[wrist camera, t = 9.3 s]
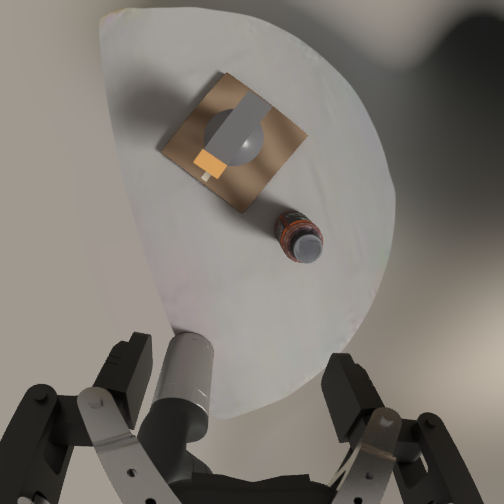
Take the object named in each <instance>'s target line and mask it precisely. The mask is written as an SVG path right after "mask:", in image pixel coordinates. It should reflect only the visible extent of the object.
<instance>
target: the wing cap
mask: <svg viewBox="0 0 504 504" xmlns="http://www.w3.org/2000/svg"><path fill="white" fill-rule="evenodd" d="M271 108H272V106H271V105H270V104H269V103H267V102H266V101H264V100H263V99H261V98H260V97H259V96H257V95H256V94H254V93H253V92H251V91H250V90H249V91H248V92H247V93H246V95H245V96H244V97H243V98H242V100H241V101H240V102H239V103H238V105H237V106H236V107H235V108H234V109H228V110H224V111H221V112H219V113H218V114H216V115H215V116H214V117H213V118H212V119H211V120H210V121H209V122H208V124H207V126H206V128H205V132H204V144H205V148H204V149H202V150H201V152H200V153H199V155H198V156H197V157H196V159H195V160H194V162H193V163H195V164H196V165H198V166H199V167H201V168H202V169H203V170H205V171H206V172H208V173H209V174H211V175H212V176H214V177H215V178H217V179H218V178H219V177H220V175H221V174H222V172H223V171H224V170H225V168H226V167H227V166H240V165H244V164H246V163H248V162H250V161H251V160H253V159H254V158H255V157H256V156H257V155H258V153H259V152H260V150H261V148H262V145H263V141H264V134H263V129H262V126H261V124H260V122H261V121H262V119H263V118H264V117H265V116H266V114H267V113H268V112H269V110H270V109H271Z"/></svg>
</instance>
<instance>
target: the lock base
mask: <svg viewBox="0 0 504 504" xmlns="http://www.w3.org/2000/svg"><path fill="white" fill-rule="evenodd" d="M249 90H250V91H251V92H253V93H254V94H256V93H255V92H254V91H252V90H251V89H250V88H248V87H247V86H246V85H244V84H243V83H241V82H240V81H239V80H237V79H236V78H234V77H233V76H232V75H230V74H229V73H226V74H225V75H224V76H223V77H222V78H221V79H220V80H219V81H218V83H217V84H216V85H215V86H214V87H213V88H212V89H211V90H210V92H209V93H208V94H207V95H206V96H205V97H204V99H203V100H202V101H201V102H200V103H199V104H198V106H197V107H196V108H195V109H194V111H193V112H192V113H191V114H190V115H189V117H188V118H187V119H186V120H185V122H184V123H183V124H182V126H181V127H180V128H179V129H178V131H177V132H176V133H175V135H174V136H173V137H172V139H171V140H170V141H169V143H168V144H167V145H166V147H165V148H164V149H163V151H162V153H163V154H164V155H166V156H167V157H168V158H170V159H171V160H172V161H174V162H175V163H176V164H178V165H179V166H180V167H182V168H183V169H184V170H186V171H187V172H188V173H190V174H191V175H192V176H194V177H195V178H196V179H198V180H199V181H200V182H202V183H203V184H204V185H206V186H207V187H208V188H210V189H211V190H212V191H214V192H215V193H216V194H218V195H219V196H220V197H221V198H223V199H224V200H225V201H227V202H228V203H229V204H231V205H232V206H233V207H235V208H236V209H237V210H238V211H240V212H241V213H242V214H243V213H244V211H245V210H246V209H247V208H248V206H249V205H250V204H251V203H252V202H253V200H254V199H255V198H256V197H257V195H258V194H259V193H260V192H261V191H262V189H263V188H264V187H265V186H266V185H267V183H268V182H269V181H270V180H271V179H272V177H273V176H274V175H275V174H276V173H277V171H278V170H279V169H280V168H281V167H282V166H283V164H284V163H285V162H286V161H287V160H288V158H289V157H290V156H291V155H292V154H293V153H294V151H295V150H296V149H297V148H298V147H299V146H300V144H301V143H302V142H303V141H304V140H305V139H306V137H307V136H308V135H307V134H306V133H305V132H304V131H302V130H301V129H300V128H299V127H298V126H297V125H295V124H294V123H293V122H292V121H291V120H289V119H288V118H287V117H286V116H285V115H283V114H282V113H281V112H280V111H278V110H277V109H276V108H275V107H273V106H272V105H271V104H270V105H271V106H272V108H271V109H270V110H269V112H268V113H267V114H266V116H265V117H264V118H263V119H262V121H261V122H260V124H261V126H262V129H263V134H264V141H263V145H262V148H261V150H260V152H259V153H258V155H257V156H256V157H255V158H254V159H253V160H251V161H250V162H248V163H246V164H244V165H240V166H227V167H226V168H225V170H224V171H223V172H222V174H221V175H220V177H219V178H218V179H217V178H215V177H214V176H212V175H211V174H209V173H208V172H206V171H205V170H203V169H202V168H201V167H199V166H198V165H196V164H195V163H193V162H194V160H195V159H196V157H197V156H198V155H199V153H200V152H201V150H202V149H204V148H205V144H204V132H205V128H206V126H207V124H208V122H209V121H210V120H211V119H212V118H213V117H214V116H215V115H216V114H218V113H219V112H221V111H224V110H228V109H234V108H235V107H236V106H237V105H238V103H239V102H240V101H241V100H242V98H243V97H244V96H245V95H246V93H247V92H248V91H249ZM256 95H257V96H259V95H258V94H256ZM259 97H260V96H259ZM260 98H261V99H263V98H262V97H260ZM263 100H264V99H263ZM264 101H266V100H264ZM266 102H267V101H266ZM267 103H268V102H267Z"/></svg>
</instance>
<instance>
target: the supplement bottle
mask: <svg viewBox="0 0 504 504" xmlns="http://www.w3.org/2000/svg"><path fill="white" fill-rule="evenodd" d="M275 235H276V238H277V239H278V241H279V243H280V245H281V247H282V249H283V251H284V253H285V254H286V255H287V257H288V258H290V259H291V260H293V261H295V262H299V263H312V262H314V261H316V260H317V259H318V258H319V257H320V255H321V253H322V249H323V236H322V233H321V231H320V230H319V228H318V227H317V226H316V225H315V224H314V223H313V222H311V221H310V220H309V219H308V218H307V217H306V216H305V215H303V214H302V213H300V212H297V211H288V212H285V213H284V214H282V215H281V216H280V217H279V218H278V219H277V221H276V223H275Z"/></svg>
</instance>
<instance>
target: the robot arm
mask: <svg viewBox="0 0 504 504" xmlns="http://www.w3.org/2000/svg"><path fill="white" fill-rule="evenodd" d="M213 357H214V350H213V347H212V345H211V343H210V342H209V341H208V340H207V339H206V338H204V337H203V336H201V335H198V334H195V333H181V334H178V335H176V336H175V337H173V338H172V340H171V341H170V343H169V346H168V349H167V352H166V355H165V359H164V362H163V366H162V369H161V372H160V376H159V379H158V383H157V386H156V390H155V393H154V397H153V401H152V404H151V408H150V411H149V413H148V414H147V416H146V417H145V419H144V421H143V422H142V424H141V426H140V429H139V432H138V435H137V438H136V436H135V435H134V436H133V435H132V433H131V432H130V430H129V429H132V430H134V428H135V425H136V421H137V418H138V414H139V411H140V408H141V405H142V401H143V398H144V395H145V392H146V388H147V385H148V382H149V379H150V376H151V372H152V365H153V360H152V339H151V335H149V334H144V333H138V332H134V333H133V334H132V336H131V338H130V340H129V342H125V341H121V342H119V343H118V344H116V345H115V346H114V347H113V348H112V350H111V352H110V354H109V356H108V357H107V360H106V362H105V363H104V365H103V367H102V369H101V371H100V373H99V375H98V377H97V379H96V381H95V383H94V384H93V386H92V387H89V388H86V389H84V390H83V391H82V392H80V394H79V395H78V396H64V395H57V393H56V391H55V390H54V389H53V388H52V387H51V386H49V385H46V384H37V385H34V386H32V387H30V388H29V389H28V390H27V392H26V393H25V395H24V397H23V399H22V400H21V402H20V404H19V406H18V408H17V410H16V411H15V413H14V415H13V417H12V419H11V421H10V423H9V425H8V427H7V429H6V431H5V433H4V435H3V437H2V439H1V441H0V504H58V502H59V498H60V494H61V490H62V486H63V482H64V479H65V475H66V471H67V468H68V465H69V461H70V458H71V455H72V452H73V449H74V446H94V448H95V450H96V453H97V455H98V457H99V459H100V461H101V464H102V466H103V468H104V470H105V472H106V474H107V476H108V478H109V480H110V481H111V483H112V485H113V487H114V489H115V491H116V492H117V494H118V496H119V498H120V499H121V501H122V503H123V504H380V502H381V500H382V497H383V495H384V492H385V490H386V487H387V484H388V482H389V479H390V476H391V473H392V470H393V473H394V476H395V479H396V482H397V485H398V488H399V491H400V494H401V497H402V500H403V503H404V504H484V503H483V501H482V499H481V496H480V494H479V492H478V490H477V488H476V485H475V483H474V481H473V479H472V477H471V475H470V473H469V471H468V469H467V467H466V465H465V463H464V461H463V459H462V457H461V455H460V453H459V451H458V449H457V447H456V445H455V444H454V442H453V440H452V438H451V436H450V434H449V432H448V431H447V429H446V427H445V425H444V423H443V422H442V420H441V419H440V418H439V417H438V416H437V415H435V414H433V413H429V412H427V413H423V414H421V415H420V416H419V417H418V419H417V420H408V419H401V417H400V415H399V414H398V413H397V412H396V411H395V410H393V409H391V408H387V407H385V406H384V404H383V402H382V400H381V398H380V396H379V395H378V393H377V391H376V389H375V387H374V386H373V383H372V381H371V380H370V378H369V376H368V374H367V372H366V370H365V369H363V368H362V367H361V366H360V365H359V364H355V363H354V361H353V359H352V357H351V355H350V354H348V353H333V354H332V355H331V357H330V359H329V362H328V364H327V367H326V369H325V372H324V374H323V377H322V381H321V387H322V392H323V394H324V398H325V400H326V403H327V406H328V409H329V412H330V415H331V418H332V421H333V424H334V427H335V430H336V433H337V437H338V440H339V443H344V442H349V443H350V447H349V448H348V450H347V452H346V454H345V455H344V457H343V459H342V461H341V463H340V465H339V467H338V469H337V470H336V472H335V474H334V476H333V477H332V479H331V480H330V482H329V483H328V485H324V484H321V483H318V482H313V481H310V478H309V474H304V475H289V476H279V477H275V478H270V479H266V480H262V481H257V482H249V481H244V480H240V479H236V478H232V477H228V476H225V475H219V474H213V473H212V471H211V470H210V469H209V467H208V466H207V465H206V464H204V463H203V462H202V461H200V460H199V459H197V458H196V457H195V456H194V455H192V454H191V453H189V452H188V451H187V450H186V444H187V443H190V442H195V441H198V440H200V439H201V438H203V437H204V436H205V434H206V433H207V429H208V417H209V402H210V390H211V379H212V367H213ZM422 454H423V456H424V458H425V461H426V463H427V465H428V473H427V472H426V470H425V467H424V465H423V463H422V460H421V458H420V456H421V455H422Z"/></svg>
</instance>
